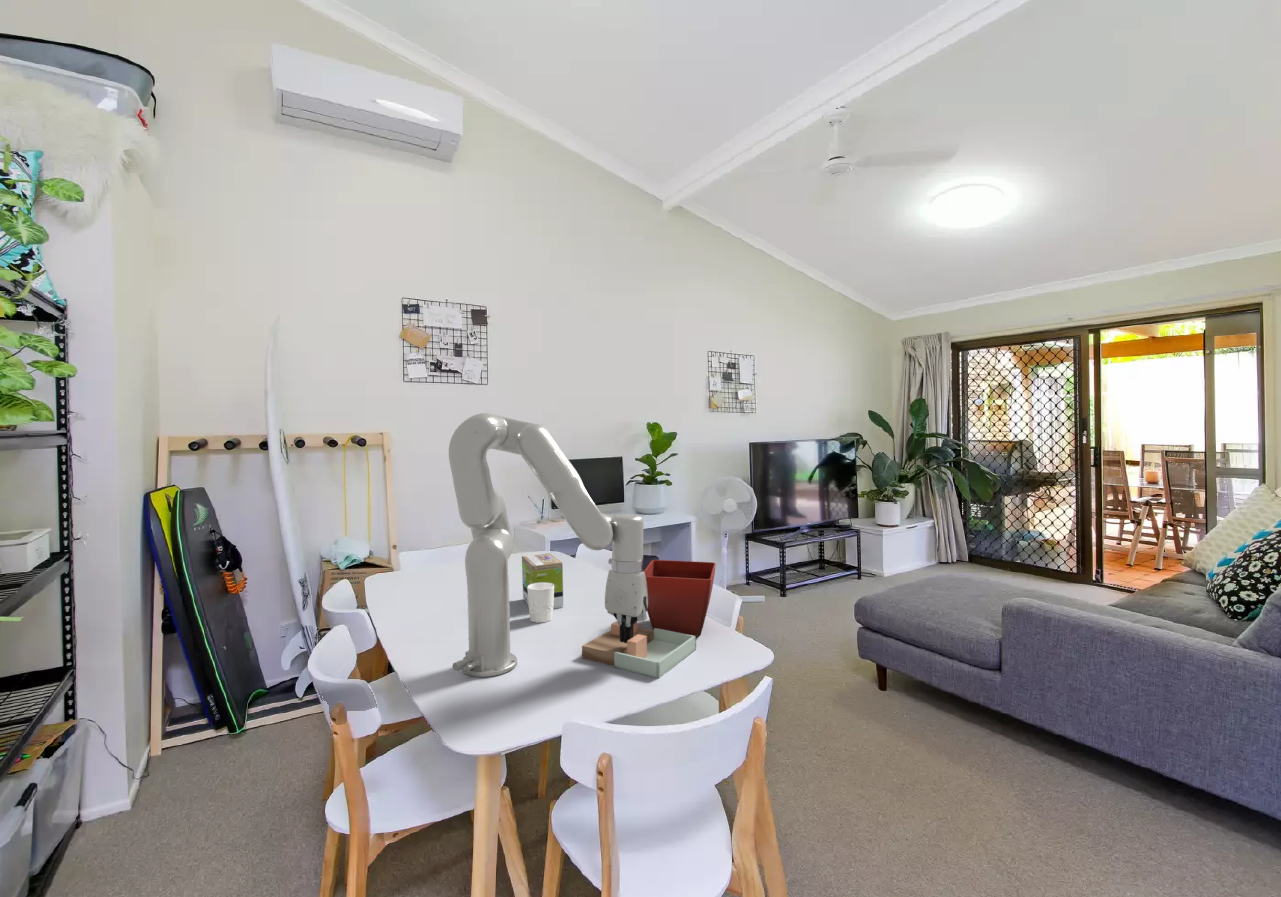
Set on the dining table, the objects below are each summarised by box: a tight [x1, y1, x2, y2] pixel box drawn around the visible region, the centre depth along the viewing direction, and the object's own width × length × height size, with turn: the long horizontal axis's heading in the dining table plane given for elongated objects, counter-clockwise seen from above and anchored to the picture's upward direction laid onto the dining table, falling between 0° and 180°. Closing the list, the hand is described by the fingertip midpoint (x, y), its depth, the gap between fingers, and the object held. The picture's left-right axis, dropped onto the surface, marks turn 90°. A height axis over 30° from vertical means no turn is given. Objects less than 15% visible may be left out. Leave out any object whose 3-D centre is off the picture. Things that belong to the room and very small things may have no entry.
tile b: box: [610, 620, 639, 635], centre depth 149 cm, size 5×5×2 cm
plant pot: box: [643, 559, 717, 637], centre depth 160 cm, size 19×19×17 cm
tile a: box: [627, 634, 647, 658], centre depth 137 cm, size 5×5×2 cm
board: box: [581, 626, 654, 667], centre depth 145 cm, size 18×10×3 cm, turn 149°
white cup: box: [527, 582, 554, 624], centre depth 169 cm, size 8×8×10 cm
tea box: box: [521, 553, 564, 610], centre depth 184 cm, size 15×10×15 cm, turn 25°
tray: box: [614, 628, 697, 679], centre depth 139 cm, size 19×12×4 cm, turn 149°
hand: (626, 640), depth 139 cm, fingers closed
